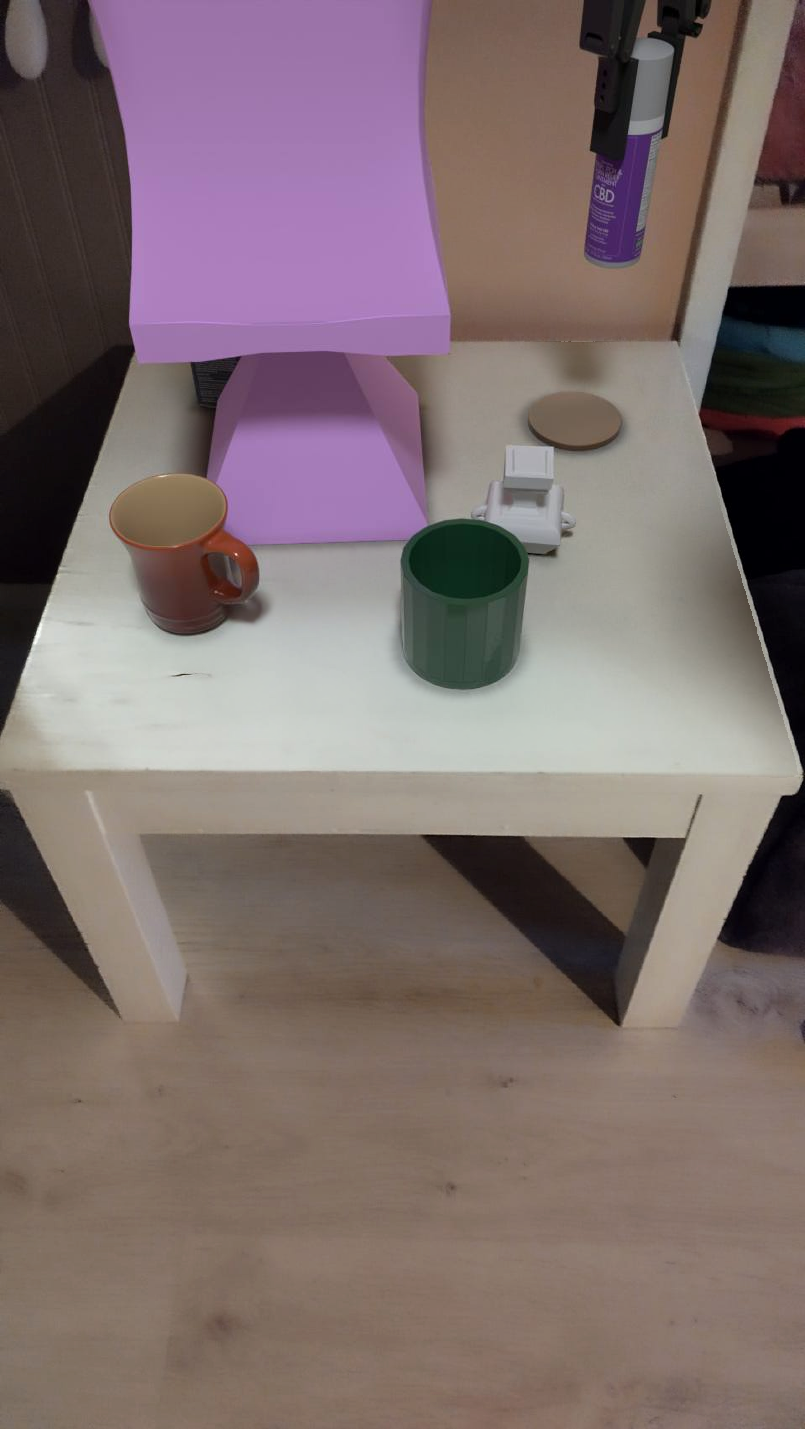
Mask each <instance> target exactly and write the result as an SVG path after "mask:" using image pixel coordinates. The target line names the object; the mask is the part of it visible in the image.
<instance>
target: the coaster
mask: <svg viewBox="0 0 805 1429" xmlns="http://www.w3.org/2000/svg"><path fill="white" fill-rule="evenodd" d="M527 424H528V427H529V430H530V431H531V433H532V434H533V435H534V436H535V437H536V438H537V439H539V440H540V441H541V442H542V443H545V444H547V445H549V446H550V447H554V448H557V449H561V450H567V451H578V452H579V451H591V450H595V449H599V448H603V447H605V446H607V445H608V444H610V443H612V442H613V441H614V440H615V439H616V438H617V437H618V436H619V434H620V432H621V430H622V424H623V419H622V415H621V413H620V411H619V410H618V408H617V407H616V406H615V405H614V404H613V403H611V401H608V400H607V399H605V398H604V397H601V396H598V395H595V394H592V393H588V392H582V391H561V392H555V393H551V394H548V395H545V396H542V397H541V398H539V399H538V400H536V401H535V403H534V404H533V405H532V406H531V407H530V409H529V411H528V416H527Z"/></svg>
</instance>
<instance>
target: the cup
mask: <svg viewBox="0 0 805 1429" xmlns="http://www.w3.org/2000/svg"><path fill="white" fill-rule="evenodd" d="M399 562H400V565H399V566H400V599H401V600H400V607H401V608H400V611H401V612H400V613H401V614H400V616H401V641H402V652H403V656H404V658H405V660H406V663H407V665H408V666H409V667H410V669H412V671H413V672H414V673H416V675H418V676H419V677H420V678H422V679H424V681H427V682H429V683H431V684H432V685H436V686H439V687H443V688H447V689H453V690H474V689H478V688H479V689H480V688H482V687H486V686H489V685H492V684H494V683H496V682H497V681H500V680H501V679H502V678H504V677H505V676H506V675H507V674H509V673H510V672H511V670H512V669H513V668H514V666H515V665H516V663H517V660H518V658H519V655H520V647H521V640H522V639H521V638H522V631H523V620H524V612H525V603H526V596H527V594H526V593H527V585H528V577H529V568H530V557H529V555H528V553H527V552H526V549H525V547H524V545H523V544H522V543H521V542H520V541H519V539H518V538H517V537H516V536H515V535H514V534H512V533H511V532H509V531H507V530H506V529H504V528H503V527H501V526H499V525H496V524H493V523H490V522H487V521H483V520H475V519H472V518H463V517H462V518H461V517H460V518H452V519H444V520H441V521H438V522H435V523H431V524H428V526H427V527H425V528H423V529H422V530H420V531H419V532H417V533H416V534H414V535H413V536H412V537H411V538H410V540H407V542H406V544H404V546H403V547H402V552H401V557H400V560H399Z"/></svg>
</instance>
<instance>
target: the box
mask: <svg viewBox="0 0 805 1429" xmlns="http://www.w3.org/2000/svg"><path fill="white" fill-rule="evenodd" d="M241 357H242V356H237V357H230V358H223V359H216V360H209V361H202V362H189V363H190V369H191V372H192V373H191V374H192V380H193V384H194V389H195V395H196V399H197V405H198V406H199V407H200V406H201V407H206V408H215V409H216V408H217V401H218V398H219V397H220V395H221V393H222V391H223V389H224V388H225V386H226V384H227V382H228V380H229V378H230V377H231V375H232V373H233V371H234V369H235V367H236V366H237V364H238V362H239V360H240V358H241Z"/></svg>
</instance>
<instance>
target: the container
mask: <svg viewBox="0 0 805 1429" xmlns="http://www.w3.org/2000/svg"><path fill="white" fill-rule="evenodd" d="M673 55H674V48H673V46H672V45H670V44H669V43H667V42H665V41H662V40H658V39H653V38H647V37H642V36H641V37H636V41H635V45H634V49H633V52H632V55H631V57H633V58H636V59H639V63H638V70H637V77H636V84H635V90H634V97H633V104H632V110H631V117H630V124H629V131H628V137H627V144H626V151H625V157H624V159H622V160H620V161H616V160H613V159H610V158H608V157H605V156H602V155H599V154H597V153H595V159H594V165H593V166H594V167H593V168H594V169H593V173H592V183H591V190H590V197H589V198H590V199H589V206H588V214H587V215H588V216H587V222H586V223H587V224H586V229H585V230H586V231H585V238H584V239H585V240H584V245H583V257H584V259H585V260H586V261H587V262H588V263H589V264H592V265H594V266H595V267H596V266H597V267H599V268H603V269H609V270H610V269H613V270H618V269H625V268H630V267H632V266H634V265H636V264H637V263H638V262H639V261H640V260H641V255H642V251H643V245H644V238H645V233H646V227H647V222H648V215H649V211H650V210H649V209H650V204H651V198H652V192H653V187H654V180H655V175H656V169H657V163H658V158H659V152H660V146H661V140H662V139H661V135H662V129H663V123H664V116H665V109H666V102H667V95H668V89H669V82H670V75H671V68H672V62H673Z"/></svg>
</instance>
